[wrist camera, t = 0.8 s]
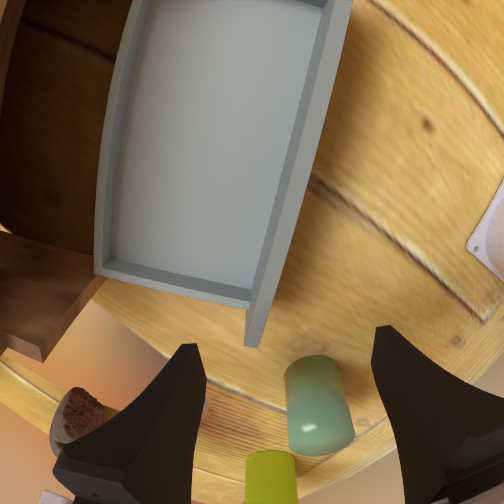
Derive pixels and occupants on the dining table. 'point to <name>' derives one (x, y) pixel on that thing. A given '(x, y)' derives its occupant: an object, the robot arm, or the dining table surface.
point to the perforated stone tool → (74, 418)
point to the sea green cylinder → (316, 407)
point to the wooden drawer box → (36, 261)
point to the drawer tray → (213, 144)
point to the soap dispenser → (270, 478)
